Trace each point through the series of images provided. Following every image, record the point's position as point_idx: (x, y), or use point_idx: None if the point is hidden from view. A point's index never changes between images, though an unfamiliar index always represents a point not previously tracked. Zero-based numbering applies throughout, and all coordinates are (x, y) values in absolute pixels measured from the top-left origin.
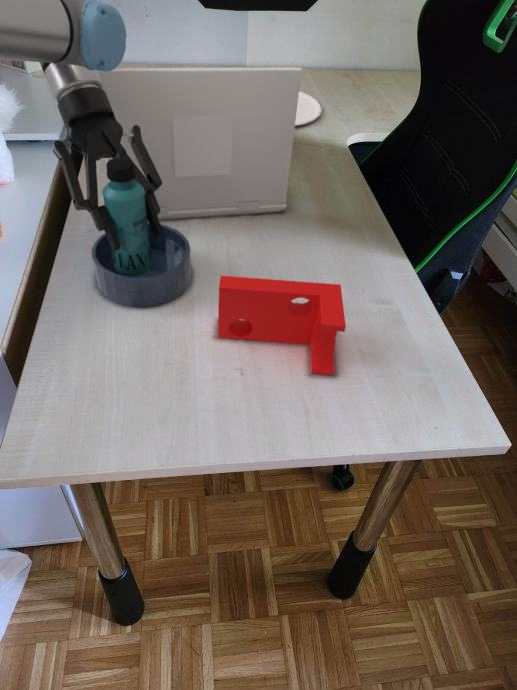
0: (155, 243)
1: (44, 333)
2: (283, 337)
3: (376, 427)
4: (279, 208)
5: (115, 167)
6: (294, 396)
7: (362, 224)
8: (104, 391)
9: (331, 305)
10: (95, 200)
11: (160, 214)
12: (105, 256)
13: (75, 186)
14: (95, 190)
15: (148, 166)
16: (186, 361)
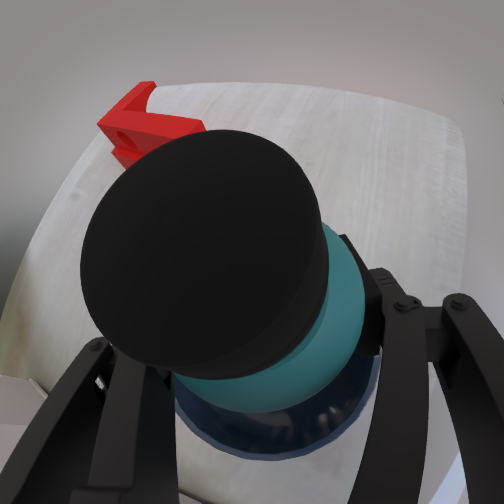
0: (217, 420)
1: (457, 268)
2: None
3: (181, 94)
4: (36, 383)
5: (246, 151)
6: (211, 114)
7: (12, 310)
8: (387, 154)
9: (126, 99)
10: (397, 313)
11: None
12: (332, 419)
13: (492, 349)
14: (393, 347)
15: (69, 395)
16: None
